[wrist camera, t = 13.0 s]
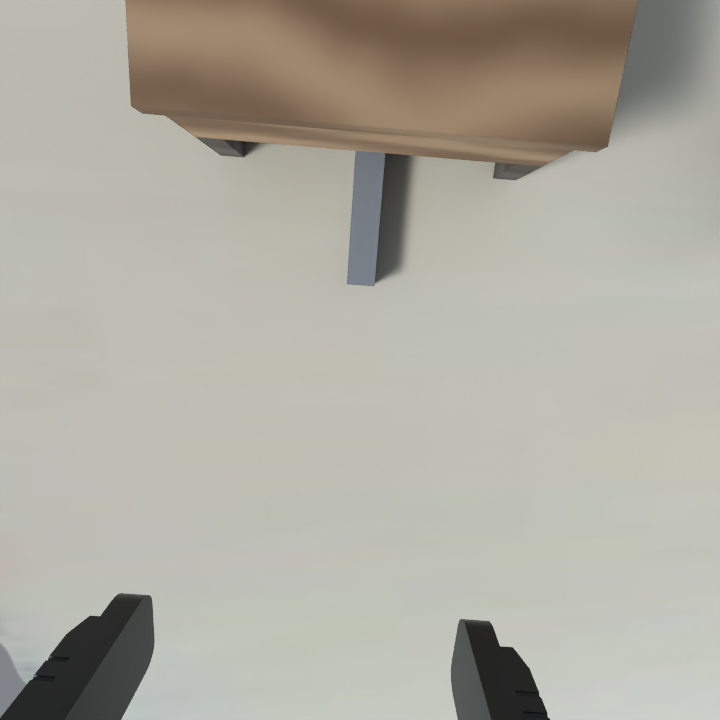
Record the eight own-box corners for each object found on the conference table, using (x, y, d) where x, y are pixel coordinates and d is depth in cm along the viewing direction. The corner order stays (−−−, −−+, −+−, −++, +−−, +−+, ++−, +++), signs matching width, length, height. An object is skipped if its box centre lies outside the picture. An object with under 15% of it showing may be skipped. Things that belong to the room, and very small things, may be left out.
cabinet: (213, 13, 33) (117, -144, 20) (543, 42, 33) (657, -94, 20) (215, 161, 35) (131, 105, 23) (520, 186, 36) (607, 146, 23)
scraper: (320, -10, 32) (315, -37, 30) (443, 0, 33) (451, -26, 30) (308, 279, 38) (303, 281, 35) (413, 287, 38) (417, 289, 35)
